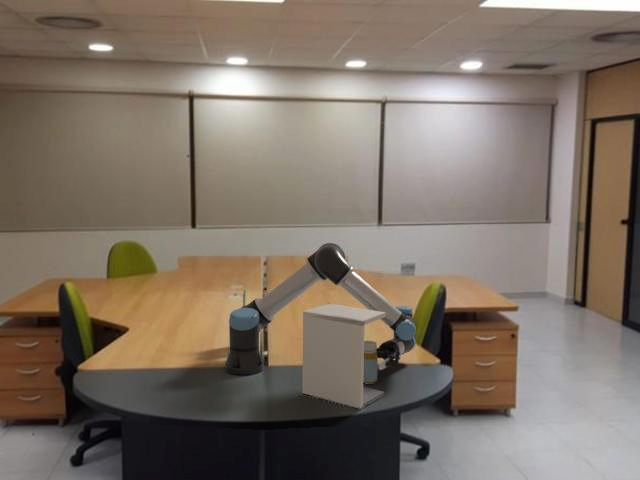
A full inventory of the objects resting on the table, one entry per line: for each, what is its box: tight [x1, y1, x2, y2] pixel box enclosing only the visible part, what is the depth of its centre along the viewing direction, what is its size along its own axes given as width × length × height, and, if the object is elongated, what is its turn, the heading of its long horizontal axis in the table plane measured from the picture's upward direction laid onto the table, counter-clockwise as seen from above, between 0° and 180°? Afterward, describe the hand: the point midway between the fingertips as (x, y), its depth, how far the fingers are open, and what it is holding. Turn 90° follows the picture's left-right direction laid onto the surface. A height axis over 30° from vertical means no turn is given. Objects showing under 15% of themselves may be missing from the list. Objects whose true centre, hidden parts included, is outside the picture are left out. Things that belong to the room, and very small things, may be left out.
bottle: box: [363, 340, 379, 384], centre depth 230 cm, size 7×7×15 cm
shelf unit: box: [301, 303, 386, 408], centre depth 215 cm, size 16×24×30 cm, turn 55°
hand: (363, 362), depth 227 cm, fingers open, 13 cm apart
